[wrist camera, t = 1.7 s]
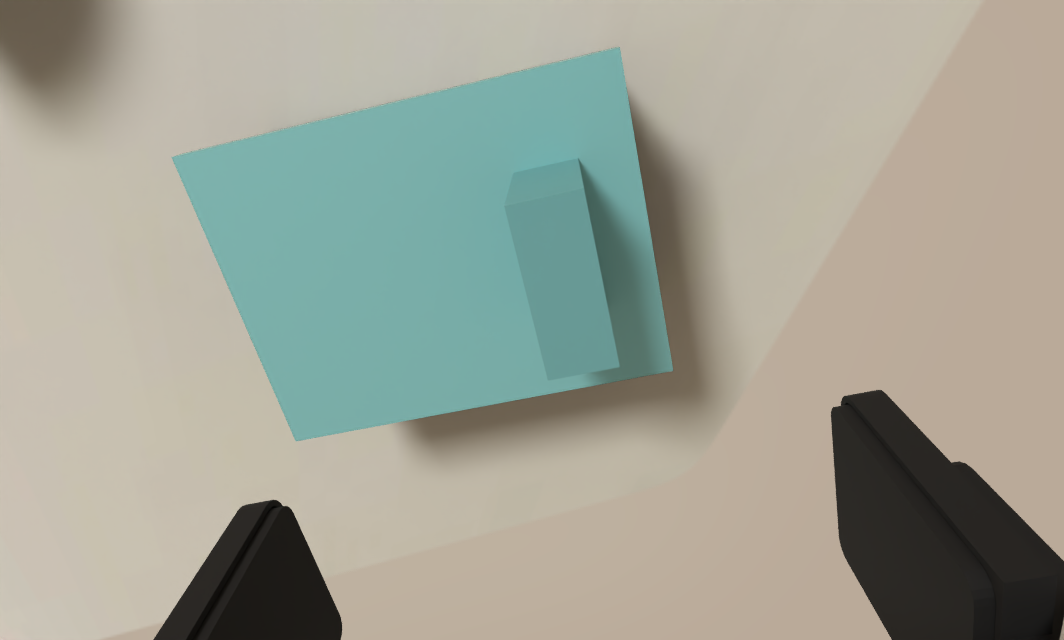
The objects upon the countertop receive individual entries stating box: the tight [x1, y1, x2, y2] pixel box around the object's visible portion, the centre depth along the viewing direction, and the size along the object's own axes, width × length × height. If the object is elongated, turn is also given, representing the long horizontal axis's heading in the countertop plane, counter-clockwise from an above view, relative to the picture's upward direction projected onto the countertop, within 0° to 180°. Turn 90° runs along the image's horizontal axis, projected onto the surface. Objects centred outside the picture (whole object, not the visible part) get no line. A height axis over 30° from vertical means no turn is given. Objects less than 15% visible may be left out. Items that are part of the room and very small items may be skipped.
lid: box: [172, 47, 673, 441], centre depth 24 cm, size 17×13×7 cm
